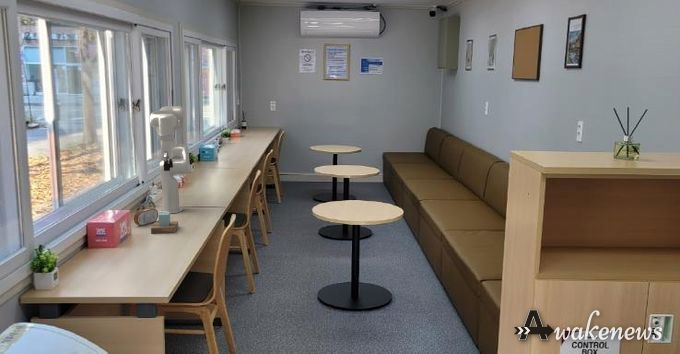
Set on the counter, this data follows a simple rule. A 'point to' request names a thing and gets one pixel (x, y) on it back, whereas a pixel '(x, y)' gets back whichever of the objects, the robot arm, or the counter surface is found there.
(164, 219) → the block
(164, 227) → the base
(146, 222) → the wooden speaker
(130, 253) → the counter surface
